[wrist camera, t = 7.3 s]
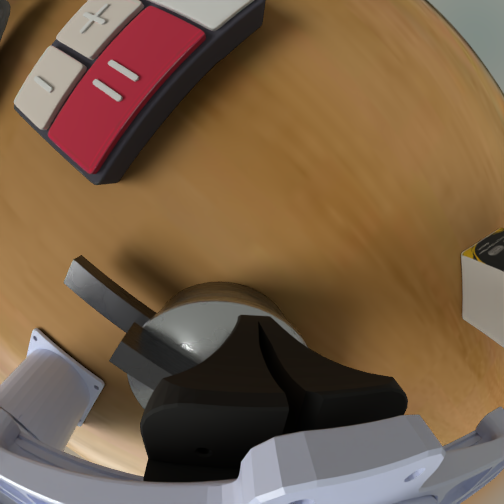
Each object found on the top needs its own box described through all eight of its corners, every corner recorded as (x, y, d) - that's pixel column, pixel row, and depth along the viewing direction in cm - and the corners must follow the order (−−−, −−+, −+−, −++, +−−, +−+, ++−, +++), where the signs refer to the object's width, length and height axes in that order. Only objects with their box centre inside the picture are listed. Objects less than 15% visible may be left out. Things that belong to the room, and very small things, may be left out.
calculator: (4, 106, 10) (145, -54, 8) (38, 112, 15) (158, -26, 12) (90, 189, 13) (270, -9, 10) (122, 185, 17) (265, 24, 14)
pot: (252, 420, 21) (255, 449, 17) (70, 307, 17) (46, 327, 14) (334, 342, 19) (351, 369, 16) (127, 195, 16) (103, 198, 12)
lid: (363, 370, 16) (380, 396, 13) (256, 456, 17) (258, 483, 14) (186, 246, 13) (173, 262, 10) (99, 377, 15) (84, 403, 12)
